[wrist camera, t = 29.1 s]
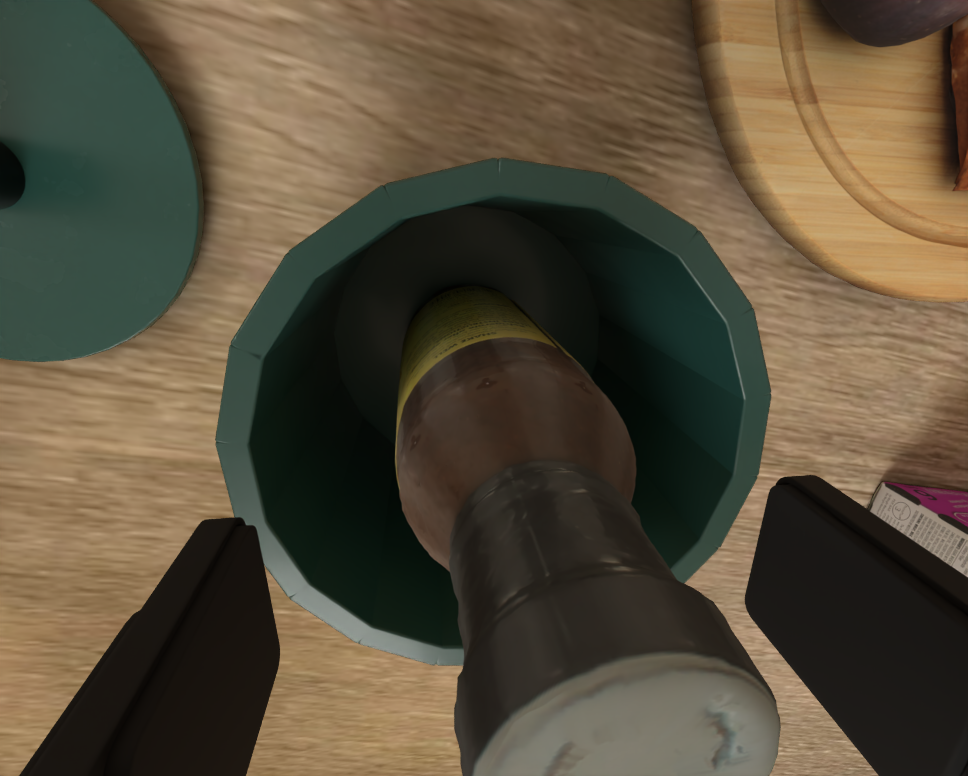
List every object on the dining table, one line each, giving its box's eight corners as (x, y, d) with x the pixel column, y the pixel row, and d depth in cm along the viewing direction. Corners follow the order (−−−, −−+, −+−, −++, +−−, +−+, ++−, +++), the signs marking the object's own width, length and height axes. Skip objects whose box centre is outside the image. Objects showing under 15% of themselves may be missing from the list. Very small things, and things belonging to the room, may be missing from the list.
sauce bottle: (380, 362, 24) (222, 870, 6) (450, 253, 23) (555, 440, 4) (487, 425, 26) (640, 972, 7) (557, 327, 25) (971, 693, 6)
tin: (274, 230, 22) (100, 251, 10) (589, 155, 23) (768, 91, 11) (371, 499, 27) (328, 716, 16) (626, 433, 28) (775, 597, 16)
